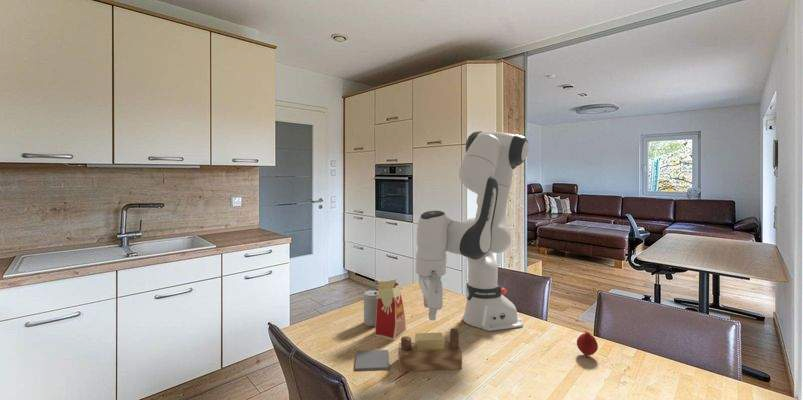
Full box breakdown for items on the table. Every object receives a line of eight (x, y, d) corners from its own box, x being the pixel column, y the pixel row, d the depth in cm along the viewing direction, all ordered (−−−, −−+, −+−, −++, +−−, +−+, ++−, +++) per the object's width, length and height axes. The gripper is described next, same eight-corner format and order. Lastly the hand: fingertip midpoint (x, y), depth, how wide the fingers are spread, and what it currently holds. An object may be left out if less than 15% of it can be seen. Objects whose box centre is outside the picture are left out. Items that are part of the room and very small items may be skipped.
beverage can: (380, 327, 131) (380, 295, 130) (362, 327, 131) (362, 295, 130) (381, 320, 137) (381, 289, 136) (364, 320, 137) (364, 289, 136)
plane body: (456, 356, 111) (456, 325, 110) (461, 368, 104) (462, 335, 103) (398, 358, 110) (398, 327, 109) (400, 371, 103) (400, 338, 102)
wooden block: (441, 343, 109) (441, 332, 109) (444, 350, 104) (444, 339, 104) (415, 344, 108) (415, 333, 108) (417, 351, 104) (417, 340, 103)
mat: (388, 351, 114) (388, 349, 114) (389, 369, 104) (389, 367, 104) (356, 352, 113) (356, 350, 113) (355, 370, 103) (355, 368, 103)
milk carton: (406, 330, 129) (406, 276, 127) (395, 341, 121) (395, 283, 119) (384, 325, 133) (384, 272, 131) (371, 335, 124) (371, 279, 123)
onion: (595, 352, 114) (596, 328, 113) (598, 362, 108) (600, 336, 107) (575, 349, 115) (576, 325, 115) (577, 358, 110) (578, 333, 109)
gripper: (449, 277, 94) (447, 328, 95) (435, 258, 114) (433, 300, 115) (425, 277, 93) (423, 328, 95) (415, 258, 114) (414, 300, 115)
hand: (429, 312), depth 105 cm, fingers open, 8 cm apart
